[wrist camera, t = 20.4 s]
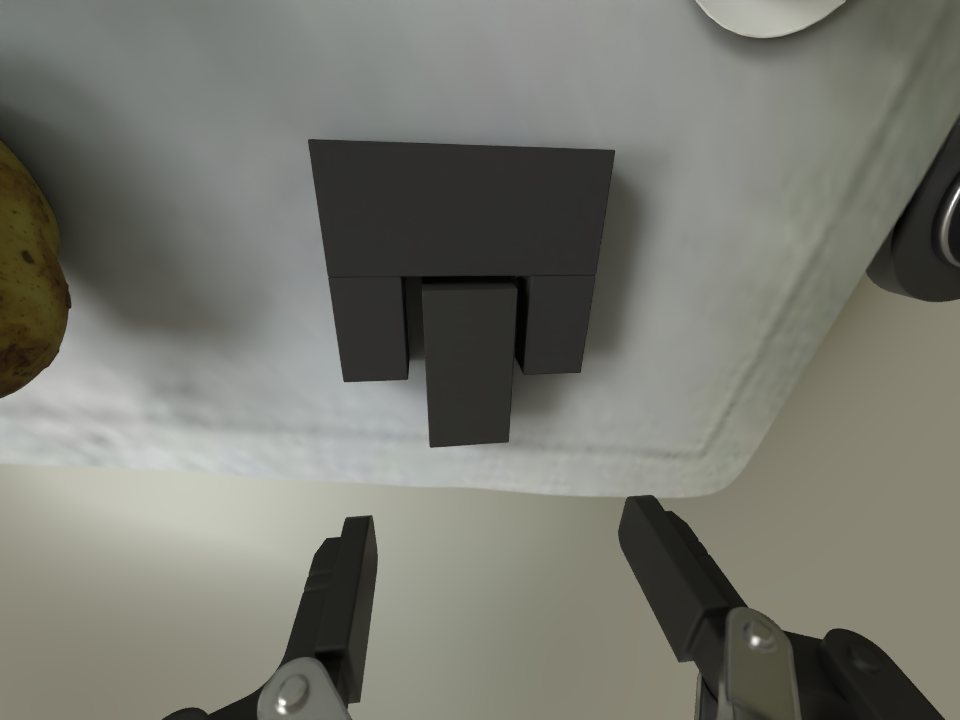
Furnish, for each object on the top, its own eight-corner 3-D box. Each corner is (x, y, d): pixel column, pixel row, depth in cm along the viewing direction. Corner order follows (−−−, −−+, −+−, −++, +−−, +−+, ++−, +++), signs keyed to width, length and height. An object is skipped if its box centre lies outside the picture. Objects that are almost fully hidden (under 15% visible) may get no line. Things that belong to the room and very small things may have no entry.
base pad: (595, 152, 21) (615, 149, 18) (567, 355, 26) (581, 373, 24) (320, 142, 19) (307, 138, 17) (350, 363, 24) (343, 382, 22)
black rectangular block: (507, 274, 23) (518, 288, 20) (500, 415, 27) (508, 442, 25) (422, 276, 22) (421, 290, 20) (429, 420, 27) (429, 448, 24)
